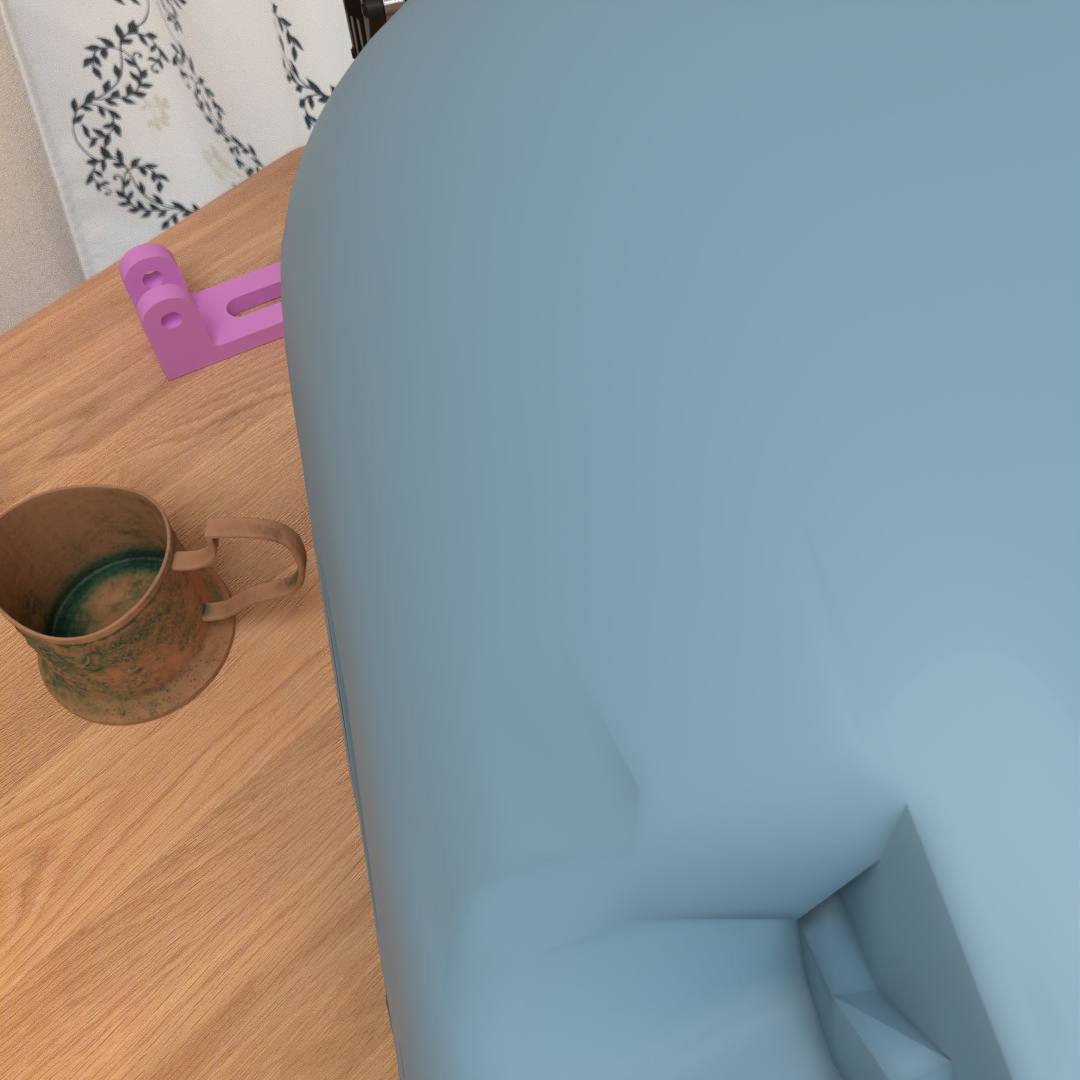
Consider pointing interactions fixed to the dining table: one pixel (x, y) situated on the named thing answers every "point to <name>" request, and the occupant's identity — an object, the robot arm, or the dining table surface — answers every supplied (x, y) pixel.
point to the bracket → (199, 310)
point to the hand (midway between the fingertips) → (410, 206)
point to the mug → (124, 599)
